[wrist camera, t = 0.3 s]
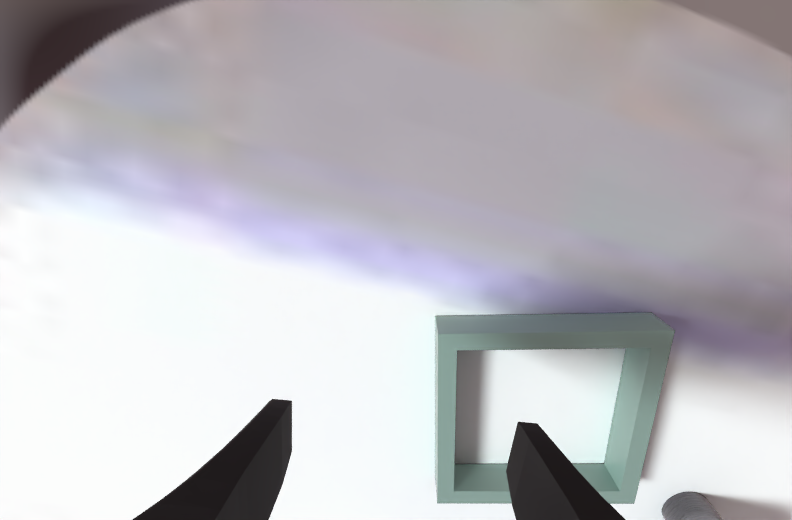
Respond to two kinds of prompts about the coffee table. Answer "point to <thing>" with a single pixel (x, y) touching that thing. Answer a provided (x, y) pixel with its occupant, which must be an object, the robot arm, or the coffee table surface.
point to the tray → (554, 331)
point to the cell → (689, 508)
